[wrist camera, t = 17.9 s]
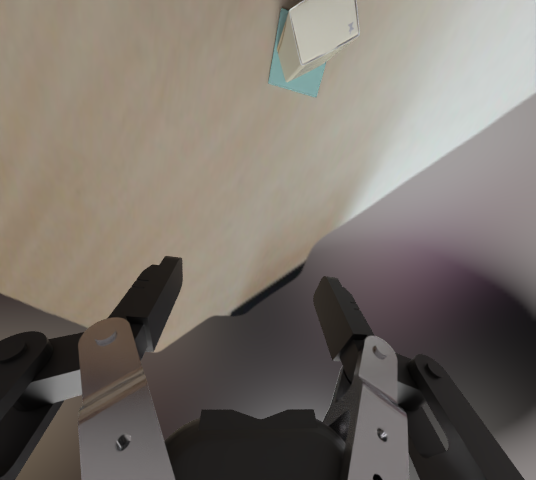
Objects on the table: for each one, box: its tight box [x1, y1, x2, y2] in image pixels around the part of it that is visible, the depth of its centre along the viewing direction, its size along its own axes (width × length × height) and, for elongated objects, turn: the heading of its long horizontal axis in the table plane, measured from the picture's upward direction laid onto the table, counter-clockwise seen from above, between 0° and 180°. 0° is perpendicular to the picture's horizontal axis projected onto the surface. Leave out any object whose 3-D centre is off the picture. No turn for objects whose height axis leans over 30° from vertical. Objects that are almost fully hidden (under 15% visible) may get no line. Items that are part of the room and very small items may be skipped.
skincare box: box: [277, 0, 360, 82], centre depth 23 cm, size 6×4×12 cm
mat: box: [268, 8, 326, 97], centre depth 28 cm, size 8×8×1 cm
